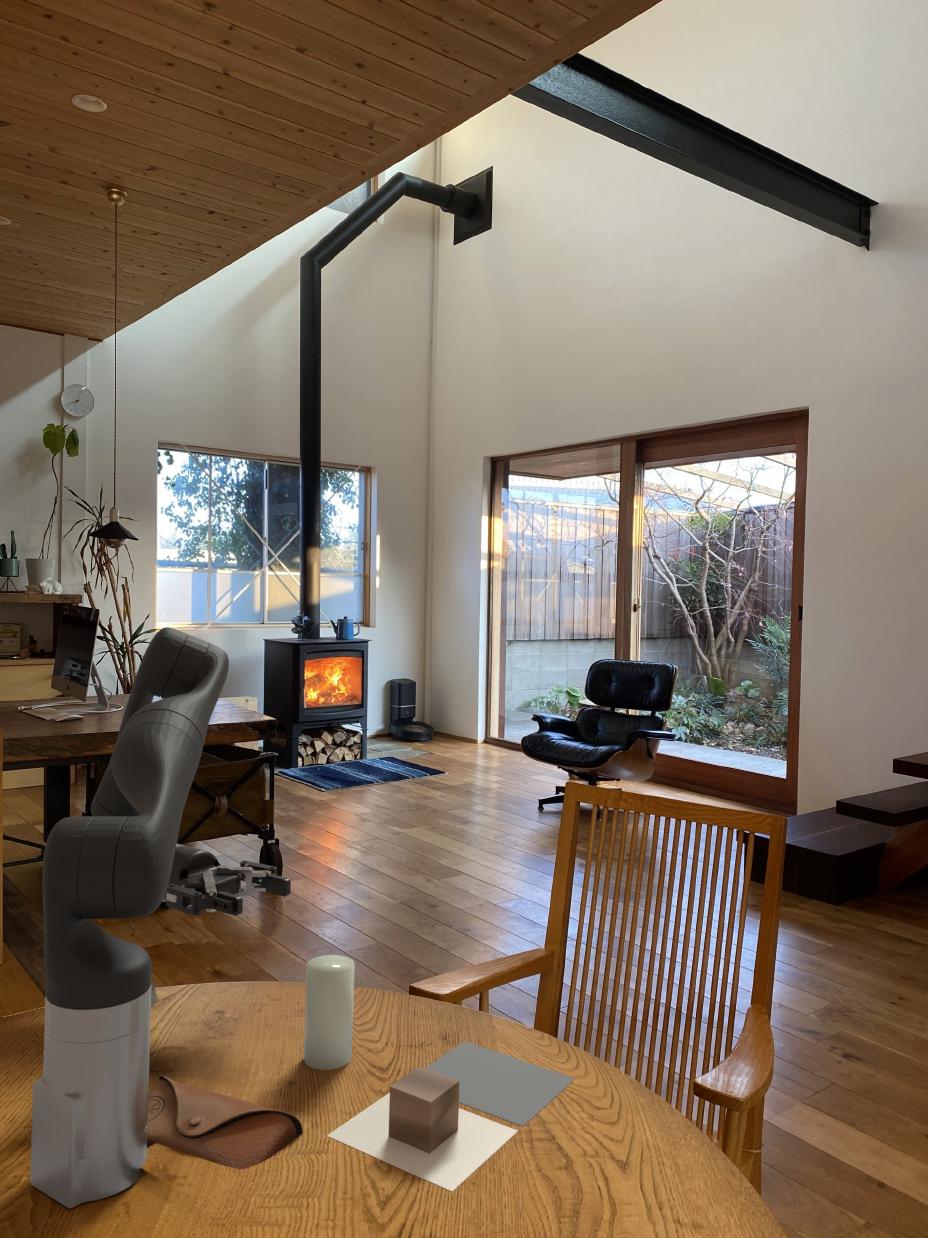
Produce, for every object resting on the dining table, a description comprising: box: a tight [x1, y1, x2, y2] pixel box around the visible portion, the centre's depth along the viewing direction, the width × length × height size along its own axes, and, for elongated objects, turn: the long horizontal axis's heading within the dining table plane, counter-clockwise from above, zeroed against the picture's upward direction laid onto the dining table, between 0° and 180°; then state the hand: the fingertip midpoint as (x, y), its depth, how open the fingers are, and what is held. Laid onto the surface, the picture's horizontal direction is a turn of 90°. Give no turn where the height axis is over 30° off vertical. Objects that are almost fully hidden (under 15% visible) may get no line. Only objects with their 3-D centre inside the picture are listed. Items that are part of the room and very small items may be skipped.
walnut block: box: [388, 1065, 460, 1154], centre depth 93 cm, size 5×5×5 cm
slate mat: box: [424, 1041, 576, 1128], centre depth 104 cm, size 12×15×1 cm
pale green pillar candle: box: [303, 954, 356, 1071], centre depth 108 cm, size 6×6×12 cm
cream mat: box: [326, 1092, 519, 1192], centre depth 93 cm, size 12×15×1 cm
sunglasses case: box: [147, 1075, 304, 1170], centre depth 92 cm, size 18×7×7 cm
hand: (265, 897), depth 115 cm, fingers open, 8 cm apart
